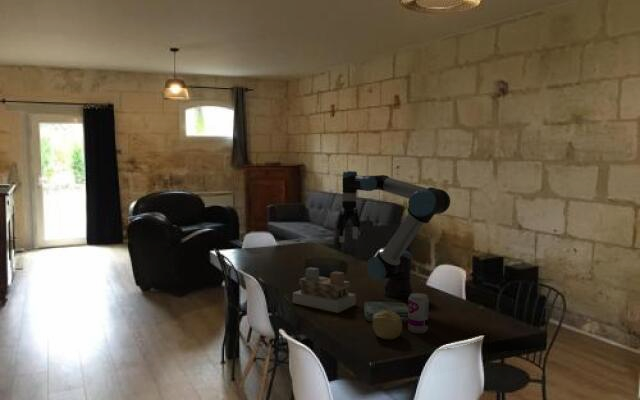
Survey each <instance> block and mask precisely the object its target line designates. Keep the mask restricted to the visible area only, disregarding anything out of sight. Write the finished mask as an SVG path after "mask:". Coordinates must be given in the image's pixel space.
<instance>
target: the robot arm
mask: <svg viewBox="0 0 640 400" xmlns="http://www.w3.org/2000/svg"><path fill="white" fill-rule="evenodd" d="M341 180H342V199H341V200H342V202H341V207H342V209H343V210H340V212H339V213H340V214H339V218H338V221H337V222H338V223H337V226H336V229H337V230H339V231H338V232H339V237H338V238H339V241H338V242H339V243H345V241H346V240H345V237H346V230H345V227H346V225H347V223H348V221H349V220H351V223H352V225H353V226H352V239H354V240H358V238H359V237H358V233H359V232H358V231H359V230H358V228H360V227H361V221H360V217H359V212H358V210H359V209H358V208H357V200H358V199H357V197H358V194H357V191H363V192H364V191H365V192H372V191H376V190H378V191H383V192H386V193H390V194H393V195H395V196H399V197H401V198H404V199H408V202H407V203H408V208H407V215H406V216H405V217H404V219H403V220H402V222H401V223H400V225H399V227H398V228H397V230H396V231H395V232H394V234H393V236H392V237H391V239H390V240H389V241H388V243H387V244H386V246H385V247H383V248H381V249H379V251H378V252H377V254H376V255H375V256H372V257H371V258H369V259H368V261H367V263H366V268H367V273H368V274H369V276H370V277H371V278H372V279H373V280H376V281H383V280H385V279H387V280H386V282H385V286H384V288H383V294H384V295H385V296H387V297H389V298H394V299H409V296H410V294H412V293H414V288H413V284H412V282H411V271H412V270H411V269H412V268H411V266H412V265H411V264H412V254H411V252H410V251H406V249H407V248H408V247H409V246H410V244H411V242H412V241H413V240H414V238H415V237H416V235H417V234H418V232H419V231H420V230H421V228H422V227H423V225H424V224H429V223H430V221H431V220H432V219H433V217H434V216H435V215H439V214H443V213H445V212H446V211H447V210H448V209H449V208H450V205H451V196H450V195H449V193H448V192H447V191H445V190H444V189H442V188H435V187H433V186H432V187H431V186H430V187H425V186H424V187H423V186H420V185H417V184H413V183H410V182H407V181H406V182H405V181H403V180H399V179H395V178H392V177H390V176H389V175H386V174H385V175H384V174H380V175H379V174H378V175H358V172H357V171H355V170H354V171H353V170H352V171H351V170H350V171H349V170H348V171H347V170H346V171H343V172H342V179H341Z"/></svg>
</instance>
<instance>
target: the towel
mask: <svg viewBox="0 0 640 400" xmlns="http://www.w3.org/2000/svg"><path fill="white" fill-rule="evenodd" d="M363 309H364V317H365V320H367V321H368V322H373V315H374V314H376V313H378V312H380V311H381V310H383V311H387V310H388V311H392V312H395V313H396V314H398V315H399V317H400V318H401V321H402V323H406V322H407V323H408V304H406V303H405V302H401V301H399V302H398V301H391V302H390V301H365V302H363Z"/></svg>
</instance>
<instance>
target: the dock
mask: <svg viewBox="0 0 640 400" xmlns="http://www.w3.org/2000/svg"><path fill="white" fill-rule="evenodd" d="M356 296H357V294H356V293H354V292H352V293H351V292H348V295H346V296H345V295H343V297H341V298H340V297H338V299H336V300H334V299H329V298H324V297H320V296H315V295H310V294H305V293H301V289H299V290H297V291H293V292H292V303H293V304H297V305H301V306H304V307H305V306H306V307H309V308H315V309H320V310H323V311H327V312H332V313H336V314H337V313H338V314H339V313H341V312H344V311H345V310H347V309H349V308H352V307H354V306H355V305H356V302H357V297H356Z"/></svg>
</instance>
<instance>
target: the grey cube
mask: <svg viewBox="0 0 640 400" xmlns="http://www.w3.org/2000/svg"><path fill="white" fill-rule="evenodd" d="M319 276H320V268H318V267H314V266H313V267H311V266H309V267H307V268H305V276H304V278H305V279H311V280H315V279H318V278H319Z"/></svg>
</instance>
